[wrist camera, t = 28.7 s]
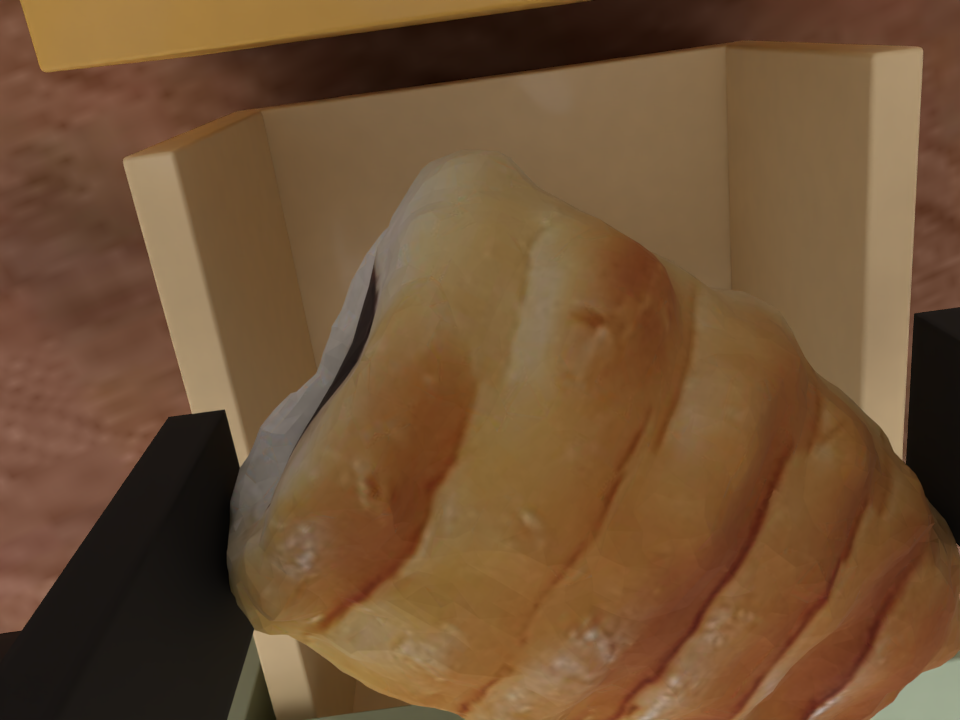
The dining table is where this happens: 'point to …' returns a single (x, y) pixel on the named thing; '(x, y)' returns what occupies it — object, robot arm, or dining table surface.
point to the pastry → (582, 486)
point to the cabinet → (911, 716)
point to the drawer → (551, 166)
